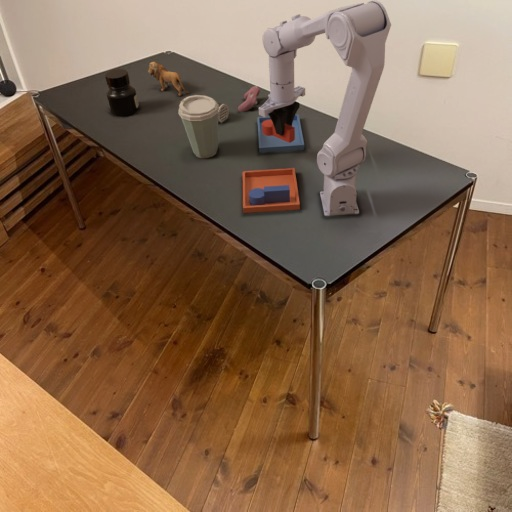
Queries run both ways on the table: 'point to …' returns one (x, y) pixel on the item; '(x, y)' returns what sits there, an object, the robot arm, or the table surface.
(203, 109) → the disposable coffee cup
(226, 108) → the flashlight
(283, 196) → the blue round-ended block
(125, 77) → the ink bottle
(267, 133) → the red round-ended block
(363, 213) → the table surface
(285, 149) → the blue tray
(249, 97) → the pink shoe
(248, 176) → the terracotta tray
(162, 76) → the lion figurine
